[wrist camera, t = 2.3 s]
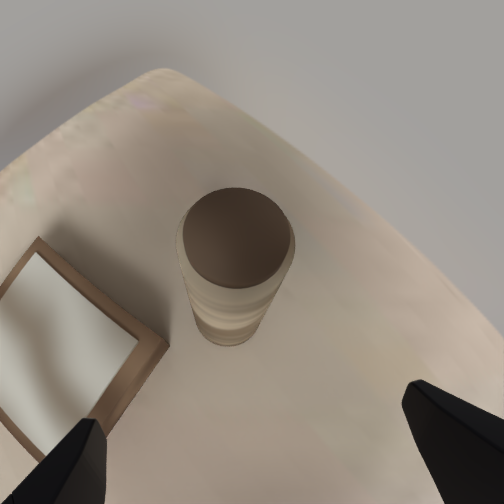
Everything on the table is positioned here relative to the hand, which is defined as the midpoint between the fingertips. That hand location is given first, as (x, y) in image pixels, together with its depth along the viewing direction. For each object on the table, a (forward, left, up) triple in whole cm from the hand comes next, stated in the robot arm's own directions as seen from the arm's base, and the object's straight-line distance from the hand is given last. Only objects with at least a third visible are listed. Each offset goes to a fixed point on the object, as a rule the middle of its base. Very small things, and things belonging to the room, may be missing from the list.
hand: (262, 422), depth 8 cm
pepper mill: (+5, +4, -13) cm, 14 cm away
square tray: (-5, +12, -13) cm, 18 cm away
